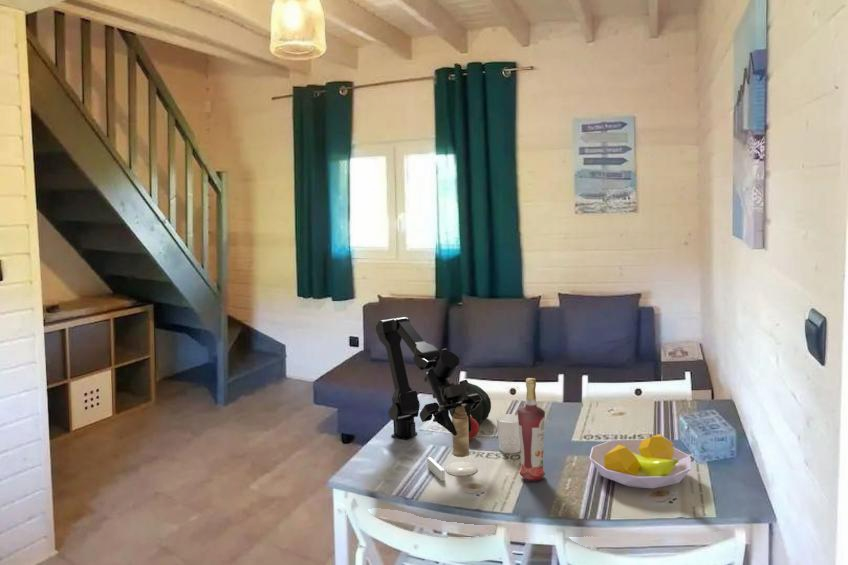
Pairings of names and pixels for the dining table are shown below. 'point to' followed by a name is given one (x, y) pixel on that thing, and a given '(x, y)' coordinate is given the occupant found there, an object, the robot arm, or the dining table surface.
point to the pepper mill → (460, 433)
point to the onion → (473, 428)
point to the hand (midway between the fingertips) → (463, 433)
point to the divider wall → (436, 469)
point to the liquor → (531, 435)
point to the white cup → (508, 433)
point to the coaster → (461, 468)
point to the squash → (483, 407)
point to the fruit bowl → (641, 462)
